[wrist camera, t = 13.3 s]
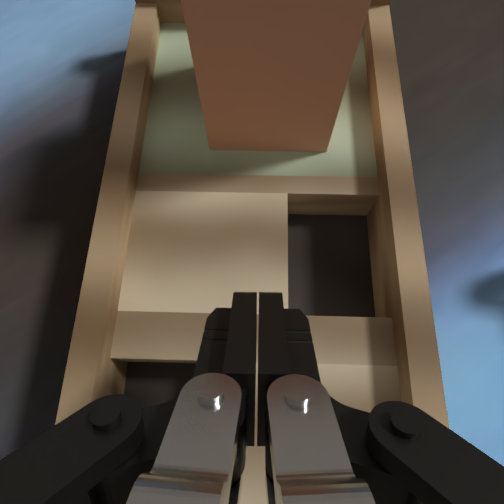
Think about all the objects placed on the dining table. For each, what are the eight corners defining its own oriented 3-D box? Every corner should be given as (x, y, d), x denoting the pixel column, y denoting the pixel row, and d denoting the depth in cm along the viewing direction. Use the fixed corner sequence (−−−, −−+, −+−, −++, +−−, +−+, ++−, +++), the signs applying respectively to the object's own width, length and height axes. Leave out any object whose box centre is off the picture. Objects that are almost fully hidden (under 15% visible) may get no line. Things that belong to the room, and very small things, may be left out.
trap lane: (467, 953, 12) (610, 1335, 7) (15, 926, 12) (-141, 1275, 7) (368, 45, 25) (394, -34, 20) (154, 43, 25) (131, -36, 20)
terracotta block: (326, 152, 19) (382, -38, 11) (210, 150, 19) (173, -40, 11) (322, 62, 21) (366, -156, 13) (217, 61, 21) (190, -156, 13)
